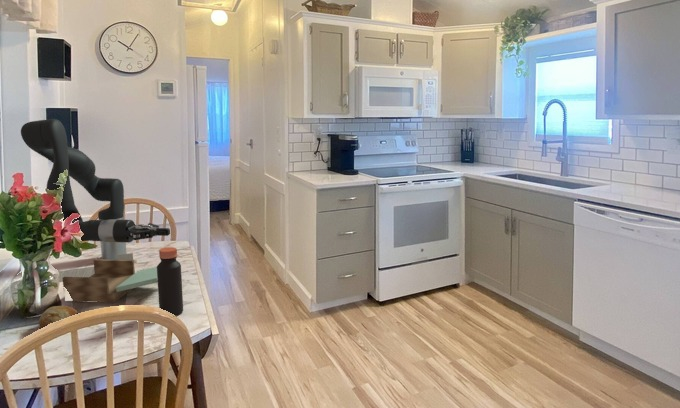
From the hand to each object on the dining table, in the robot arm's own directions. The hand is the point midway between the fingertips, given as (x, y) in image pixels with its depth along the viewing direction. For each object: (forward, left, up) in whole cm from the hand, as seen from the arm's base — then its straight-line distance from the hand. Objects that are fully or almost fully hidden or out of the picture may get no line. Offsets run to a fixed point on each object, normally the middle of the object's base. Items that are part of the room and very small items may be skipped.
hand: (169, 231), depth 154 cm
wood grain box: (-11, -20, -21) cm, 31 cm away
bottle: (+17, -3, -21) cm, 27 cm away
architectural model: (-31, -12, -22) cm, 40 cm away
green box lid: (-7, -13, -18) cm, 24 cm away
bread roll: (+12, -32, -22) cm, 41 cm away
